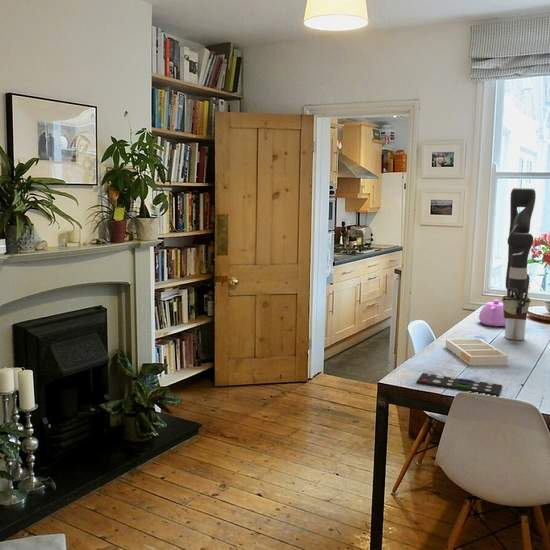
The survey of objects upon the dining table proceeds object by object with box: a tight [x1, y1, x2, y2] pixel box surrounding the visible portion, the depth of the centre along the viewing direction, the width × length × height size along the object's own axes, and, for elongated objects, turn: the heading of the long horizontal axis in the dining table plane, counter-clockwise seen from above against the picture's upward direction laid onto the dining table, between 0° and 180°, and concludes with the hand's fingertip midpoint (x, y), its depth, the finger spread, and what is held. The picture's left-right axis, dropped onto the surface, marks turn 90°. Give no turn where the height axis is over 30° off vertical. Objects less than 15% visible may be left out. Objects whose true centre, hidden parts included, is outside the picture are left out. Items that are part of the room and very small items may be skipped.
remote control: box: [416, 372, 503, 397], centre depth 231 cm, size 11×30×2 cm, turn 64°
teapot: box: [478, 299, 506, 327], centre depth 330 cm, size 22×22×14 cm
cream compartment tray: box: [445, 338, 509, 366], centre depth 271 cm, size 29×17×4 cm, turn 5°
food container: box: [501, 294, 531, 321], centre depth 273 cm, size 12×6×10 cm, turn 69°
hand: (515, 313), depth 273 cm, fingers closed on food container, 6 cm apart
